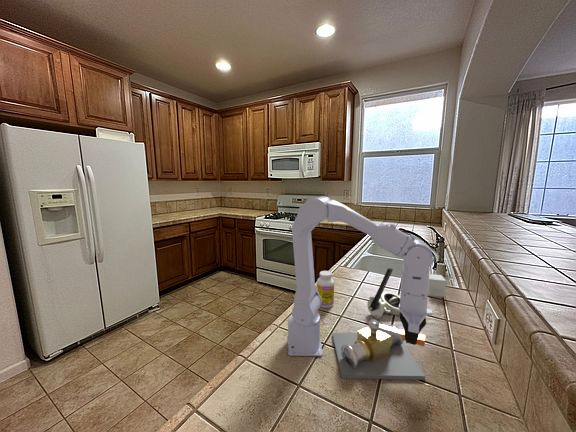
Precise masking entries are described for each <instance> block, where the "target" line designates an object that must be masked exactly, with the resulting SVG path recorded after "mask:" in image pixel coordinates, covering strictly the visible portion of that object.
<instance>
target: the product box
mask: <svg viewBox="0 0 576 432" xmlns="http://www.w3.org/2000/svg"><path fill="white" fill-rule="evenodd" d="M446 286H447V280H446V278H444V276H443V275H441V274H431V273H429V287H428V297H430V296H431V297H438V298H446V288H447V287H446Z"/></svg>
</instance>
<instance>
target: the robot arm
mask: <svg viewBox="0 0 576 432" xmlns="http://www.w3.org/2000/svg"><path fill="white" fill-rule="evenodd" d="M326 219H327V222H328V223H330V222H331V223H332V222H334V223H335V222H342V223H344V224H346V225H348V226H350V227H352V228H355V229H356V230H358V231H360V232H362V233H364V234H366V235H368V236H370V238H371V242H372V243H373V244H374V245H376V246H377V247H379V248H381V249H382V250H384V251H386V252H388V253H389V254H390V255H391V254H392V256H394V257H396V258H400V259H403V261H402V262H403V263H402V270H401V278H400V279H401V280H400V295H399V296H400V304H399V310H400V315H398V317H399V321H400V322H401V325H402V329H404V334H405V340H406V341H405V343H406V344H410V345H414V346H416V345H417V344H416V343H417V339H418V336H419V333H420V334H421V331H422V330H423V329H424V328H425V327H426V325H427V319H426V317H427V316H429V317H432V316H433V314H434V313H433V310H432V309H431V308H428V297H429V295H428V287H429V274H430V267H431V266H433V263H434V261H435V258H434V257H433V253H432V250H431V249H430V247H429V246H428V244H426V242H424V241H423V240H422V239H421V238H418V237H416V236H415V235H413V234H410V235H409V234H407V233H405V232H403V231H402V230H400V229H398V228H397V225H396V224H394V223H390V224H388V223H387V222H383V223H376V222H374V221H372V220H370V219H369V218H367V217H365V216H363V215H362V214H361V213H360V212H357V211H355V210H354V209H352V208H350V207H349V206H347V205H345V204H344V203H341V202H339V201H337V200H335V199H331V198H329V197H328V196H324V195H321V196H318V197H314V198H310V199H308V200H306V201H305V202H304V203H303V204H302V205H300V207H299V208H298V212H297V215H296V216H295V219H294V221H293V223H292V224H291V235H292V245H293V246H292V247H293V258H294V259H293V260H294V270H295V283H296V290H295V294H294V297H293V307H292V309H291V316H289V317H288V318H287V319H288V320H287V338H286V339H287V344H288V345H287V347H288V349H287V350H288V353H287V355H288V356H291V357H293V356H295V357H301V356H302V357H323V350H322V347H323V346H322V342H321V341H322V340H321V331H320V330H321V315H320V313H319V309H320V306H321V304H322V300H321V297H320V295H319V293H318V288H317V284H316V281H315V279H316V278H315V268H314V254H313V240H312V231H313V230H314V229H315V228H316V227H317V226H318V224H320V223H322V222H324V221H325V220H326Z"/></svg>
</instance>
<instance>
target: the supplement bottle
mask: <svg viewBox="0 0 576 432" xmlns="http://www.w3.org/2000/svg"><path fill="white" fill-rule="evenodd" d="M332 277H333V273H332V272H331V271H329V270H321V271H320V272H319V277H318V278H317V280H316V286H317V288H318V293H319V295H320V297H321V300H322V304H321V306H320V307H321V308H326V309H327V308H328V309H329V308H331V307H333V306H334V304H335V281H334V279H333V278H332Z"/></svg>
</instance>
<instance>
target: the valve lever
mask: <svg viewBox="0 0 576 432" xmlns="http://www.w3.org/2000/svg"><path fill="white" fill-rule="evenodd" d="M367 327H369V329H370V330H372V331H378V330H379V331H382V332H385V333H388V334H392V335H395V336H398V337H401V338H402V340H404V342H406V340H405V334H404V328H402V329H400V328H399V329H400V330H399V329H396V328H392V327H389V325H385V324H381V323H380V321H378V319H373V318H372V319H369V320H368V326H367ZM425 343H426V335H425V334H424V333H423V334H422V333H421V332H420V333H419V336H418V339H417V343H416V345H417V346H420V347H425Z"/></svg>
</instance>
